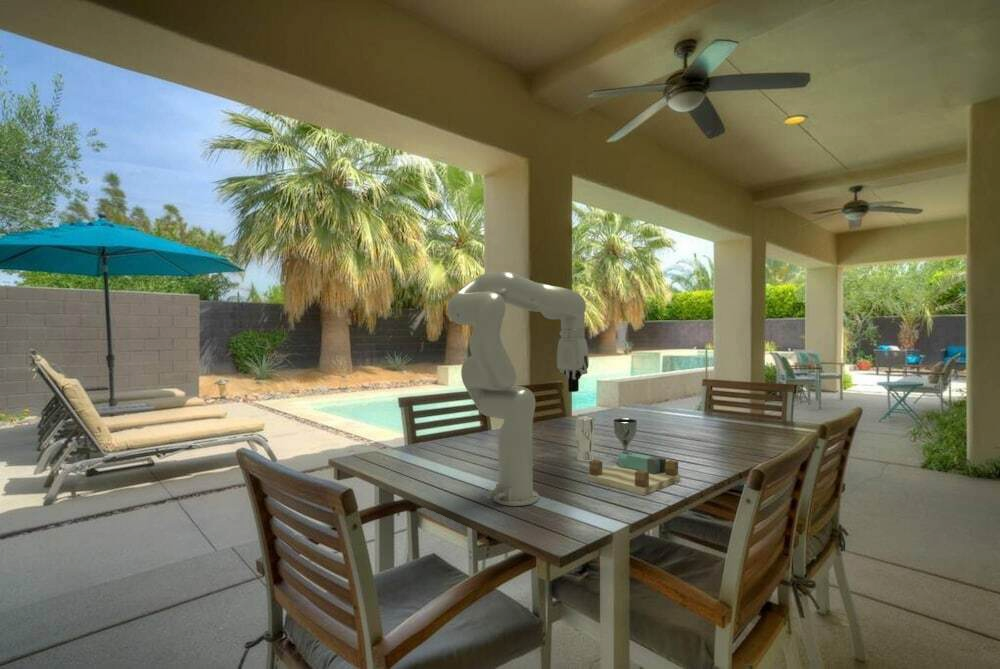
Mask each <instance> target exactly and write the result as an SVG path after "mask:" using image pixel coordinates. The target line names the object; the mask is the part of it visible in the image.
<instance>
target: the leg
mask: <svg viewBox="0 0 1000 669" xmlns="http://www.w3.org/2000/svg"><path fill="white" fill-rule="evenodd" d="M618 461H619V466H621V467H627V468H632V469H636V470H642V471H647V472H649V473H654V474H655V473H657V472H660V457H657V458H655V456H648V455H643V454H639V453H638V454H637V453H632V452H630V451H628V450H627V451H624V450H622V451H620V452H618Z"/></svg>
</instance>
